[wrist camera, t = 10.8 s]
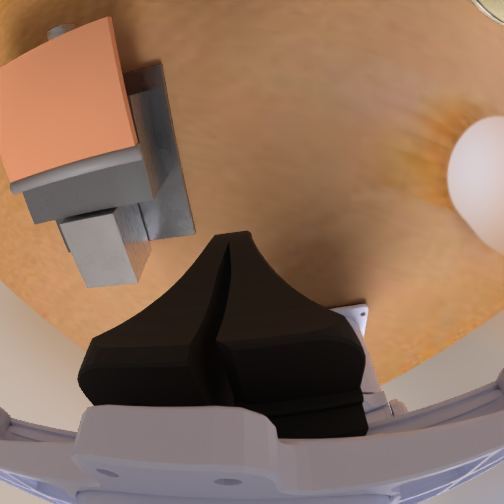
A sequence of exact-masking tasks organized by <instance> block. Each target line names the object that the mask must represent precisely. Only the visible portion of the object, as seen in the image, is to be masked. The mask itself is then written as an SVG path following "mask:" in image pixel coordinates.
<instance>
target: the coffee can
mask: <svg viewBox="0 0 504 504" xmlns="http://www.w3.org/2000/svg"><path fill="white" fill-rule="evenodd" d="M471 1H472V2H473V4H474V5H475V6H476V7H477V8H478V9H479V10H480V11H482V12H483V13H484V14H485V15H486V16H488V17H489V18H490V19H492V20H494V21H495V22H497V23H499V24H502V25H504V0H471Z"/></svg>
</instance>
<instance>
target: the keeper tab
mask: <svg viewBox="0 0 504 504" xmlns="http://www.w3.org/2000/svg"><path fill="white" fill-rule="evenodd" d="M0 156H1V159H2V162H3V164H4V167H5V170H6V172H7V175H8V178H9V180H10V190H11V192H12V193H13V194H17V193H20V192H23V191H26V190H30V189H33V188H36V187H39V186H42V185H46V184H49V183H52V182H56V181H59V180H63V179H66V178H70V177H73V176H77V175H81V174H84V173H88V172H92V171H96V170H100V169H104V168H108V167H112V166H117V165H121V164H125V163H130V162H135V161H139V160H142V159H143V148H142V145H141V144H140V143H138V140H137V136H136V132H135V128H134V124H133V119H132V115H131V111H130V107H129V102H128V98H127V94H126V89H125V84H124V80H123V75H122V70H121V65H120V60H119V55H118V50H117V44H116V39H115V33H114V27H113V22H112V17H108V16H107V17H104V18H101V19H99V20H96V21H93V22H91V23H88V24H86V25H83V26H81V27H78V28H76V29H74V30H71V31H69V32H67V33H65V34H62V35H60V36H58V37H56V38H54V39H52V40H50V41H48V42H46V43H44V44H42V45H40V46H38V47H36V48H34V49H32V50H30V51H28V52H26V53H25V54H23V55H21V56H19V57H17V58H16V59H14V60H12V61H11V62H9V63H7V64H6V65H4V66H2V67H1V68H0Z"/></svg>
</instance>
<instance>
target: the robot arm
mask: <svg viewBox="0 0 504 504" xmlns="http://www.w3.org/2000/svg"><path fill="white" fill-rule="evenodd" d="M368 310H369V308H368V305H367V304H359V305H352V306H346V307H339V308H333V309H327V308H325V307H323V306H321V305H319V304H317V303H315V302H313V301H311V300H310V299H308V298H306V297H305V296H304V295H302V294H301V293H299V292H298V291H296V290H295V289H294V288H292V287H291V286H290V285H289V284H288V283H286V282H285V281H284V280H283V279H282V278H281V277H280V276H279V275H278V274H277V273H276V272H275V271H274V270H273V269H272V267H271V266H270V265H269V264H268V263H267V261H266V260H265V259H264V257H263V256H262V255H261V253H260V252H259V250H258V249H257V247H256V245H255V243H254V241H253V239H252V235H251V233H250V232H249V231H242V232H234V233H226V234H219V235H215V236H214V237H213V238H212V239H211V241H210V242H209V243H208V245H207V246H206V248H205V249H204V250H203V252H202V253H201V254H200V256H199V257H198V258H197V259H196V261H195V262H194V263H193V265H192V266H191V267H190V268H189V269H188V270H187V272H186V273H185V274H184V275H183V276H182V277H181V278H180V279H179V280H178V281H177V282H176V283H175V284H174V285H173V286H172V287H171V288H170V289H169V290H168V291H167V292H166V293H165V294H163V295H162V296H161V297H160V298H158V299H157V300H156V301H154V302H153V303H152V304H151V305H149V306H148V307H147V308H145V309H144V310H143V311H141V312H140V313H138V314H137V315H135V316H134V317H132V318H130V319H129V320H127V321H125V322H124V323H122V324H120V325H118V326H117V327H115V328H113V329H111V330H109V331H107V332H105V333H103V334H101V335H99V336H96V337H94V338H92V341H91V343H90V345H89V347H88V350H87V352H86V355H85V357H84V360H83V363H82V365H81V368H80V370H79V374H78V378H77V379H78V383H79V387H80V388H81V390H82V391H83V393H84V394H85V395H86V397H87V398H88V399H89V400H90V401H91V402H92V404H93V405H94V406H92V407H88V408H87V409H86V411H85V412H84V413H83V415H82V418H81V421H80V425H79V428H78V432H72V431H66V430H61V429H56V428H50V427H46V426H42V425H37V424H33V423H29V422H25V421H21V420H17V419H13V418H11V417H10V415H8V413H7V412H5V410H4V409H2V408H1V407H0V480H1V481H3V482H5V483H7V484H9V485H11V486H14V487H16V488H18V489H21V490H23V491H25V492H27V493H29V494H32V495H34V496H37V497H39V498H41V499H44V500H46V501H49V502H52V503H54V504H417V503H420V502H422V501H425V500H427V499H430V498H432V497H435V496H437V495H439V494H441V493H444V492H446V491H448V490H450V489H453V488H455V487H457V486H459V485H461V484H463V483H465V482H467V481H469V480H471V479H473V478H475V477H477V476H479V475H480V474H482V473H484V472H486V471H488V470H490V469H491V468H493V467H495V466H497V465H499V464H500V463H502V462H504V368H503V370H502V371H501V373H500V374H499V376H498V378H497V380H496V381H494V382H492V383H490V384H487V385H485V386H482V387H480V388H478V389H475V390H473V391H470V392H467V393H465V394H462V395H460V396H457V397H454V398H451V399H449V400H446V401H443V402H440V403H437V404H434V405H431V406H428V407H425V408H421V409H418V410H415V411H411V412H408V410H407V408H406V406H405V404H404V403H403V402H400V401H398V400H397V399H393V400H391V401H390V402H389V403H390V407H391V411H392V414H391V411H390V408H389V406H388V402H387V399H386V396H385V393H384V391H382V390H381V386H380V383H379V381H378V378H377V375H376V372H375V369H374V366H373V363H372V360H371V357H370V355H369V352H368V349H367V346H366V343H365V341H364V333H365V328H366V322H367V316H368ZM363 312H364V313H363ZM361 313H362V314H361ZM392 416H393V417H392Z"/></svg>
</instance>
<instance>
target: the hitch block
mask: <svg viewBox="0 0 504 504" xmlns="http://www.w3.org/2000/svg"><path fill="white" fill-rule="evenodd" d="M122 75H123V80H124V84H125V89H126V94H127V98H128V102H129V107H130V111H131V115H132V119H133V124H134V128H135V132H136V136H137V140H138V143H140V144H141V145H142V148H143V159H142V160H139V161H135V162H130V163H125V164H121V165H117V166H112V167H108V168H104V169H100V170H96V171H92V172H88V173H84V174H81V175H77V176H73V177H70V178H66V179H63V180H59V181H56V182H52V183H49V184H46V185H42V186H39V187H36V188H33V189H30V190H26V191H23V195H24V198H25V200H26V203H27V206H28V209H29V211H30V214H31V216H32V219H33V221H34V224H38V223H43V222H47V221H51V220H56V222H57V225H58V228H59V230H60V233H61V235H62V237H63V240H64V242H65V245H66V247H67V249H68V252H71V251H70V249H69V247H68V244H67V242H66V239H65V237H64V234H63V232H62V230H61V227H60V223H61V222H62V221H63V220H64V219H65V218H66V217H69V216H74V215H78V214H83V213H88V212H93V211H98V210H103V209H108V208H113V207H118V206H124V205H129V204H135V203H137V204H138V208H139V211H140V214H141V218H142V221H143V224H144V228H145V231H146V234H147V237H148V240H156V239H163V238H171V237H178V236H185V235H193V234H195V232H196V231H195V226H194V222H193V218H192V213H191V209H190V204H189V200H188V195H187V191H186V186H185V182H184V177H183V172H182V167H181V163H180V158H179V153H178V148H177V143H176V138H175V133H174V128H173V122H172V117H171V112H170V106H169V101H168V95H167V90H166V84H165V78H164V72H163V66H162V64H160V65H156V66H151V67H148V68H144V69H140V70H136V71H133V72H129V73H126V74H122Z"/></svg>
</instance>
